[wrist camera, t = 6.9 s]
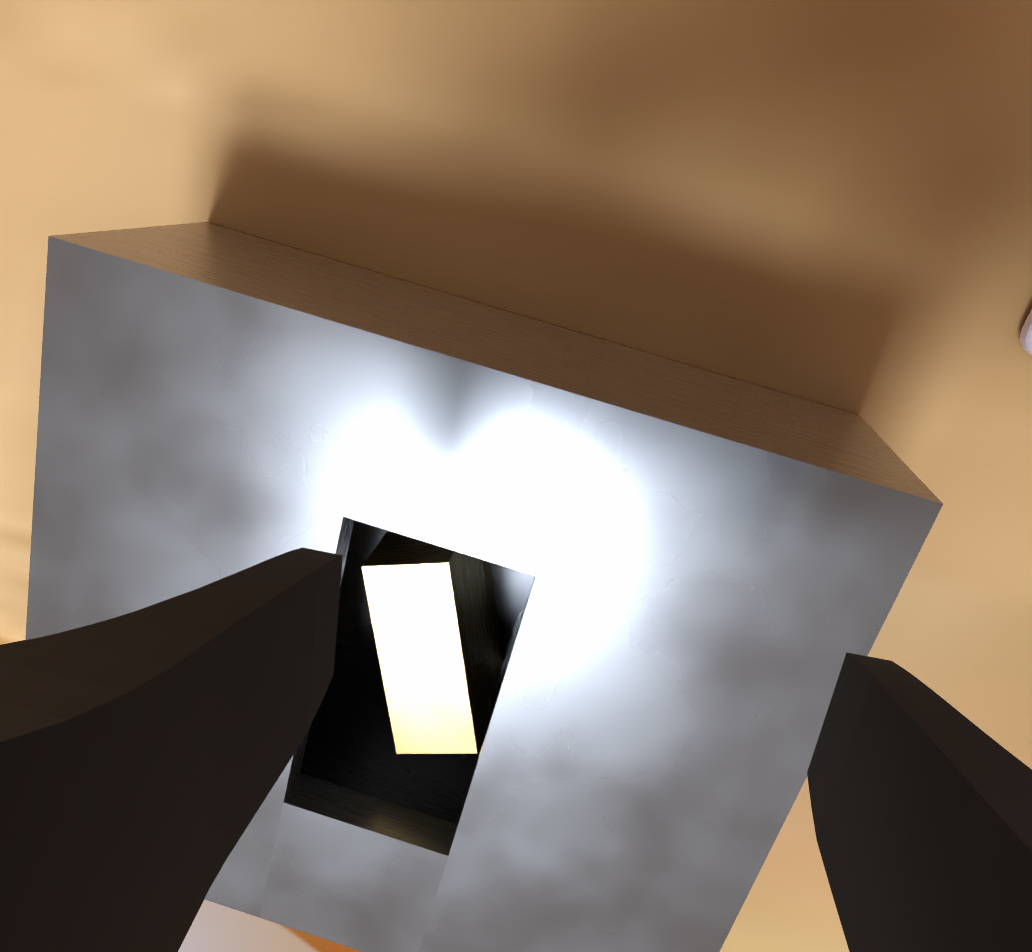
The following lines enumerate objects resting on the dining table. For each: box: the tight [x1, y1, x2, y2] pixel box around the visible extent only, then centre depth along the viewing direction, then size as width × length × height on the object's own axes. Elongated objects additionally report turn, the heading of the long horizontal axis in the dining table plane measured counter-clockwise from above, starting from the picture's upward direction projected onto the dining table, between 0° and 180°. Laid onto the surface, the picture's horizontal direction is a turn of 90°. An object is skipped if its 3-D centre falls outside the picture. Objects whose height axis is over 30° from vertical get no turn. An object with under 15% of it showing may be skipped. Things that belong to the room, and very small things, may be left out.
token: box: [362, 531, 503, 754], centre depth 21 cm, size 2×5×4 cm, turn 6°
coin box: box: [26, 222, 943, 952], centre depth 20 cm, size 17×15×6 cm
